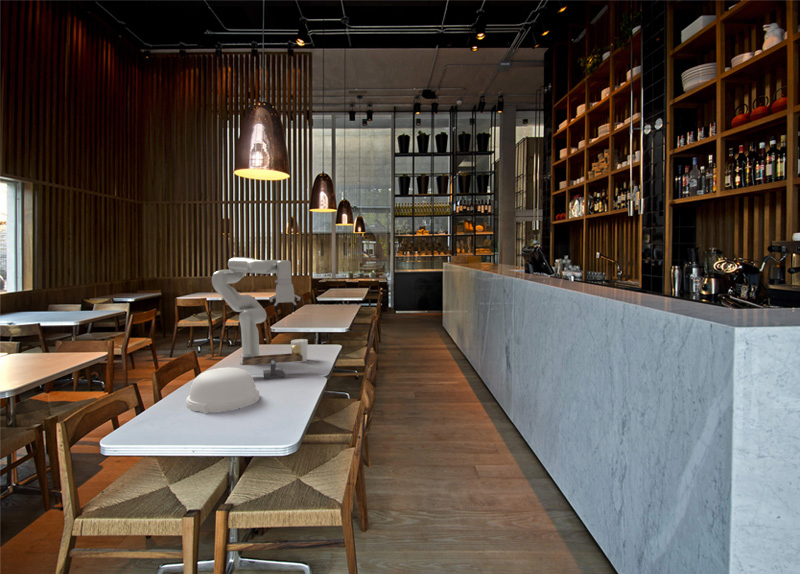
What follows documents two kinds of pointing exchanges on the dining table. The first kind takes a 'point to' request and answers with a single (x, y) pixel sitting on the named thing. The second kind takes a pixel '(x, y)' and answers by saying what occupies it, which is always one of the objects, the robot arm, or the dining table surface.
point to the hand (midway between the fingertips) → (285, 312)
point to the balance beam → (269, 359)
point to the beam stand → (273, 372)
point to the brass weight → (296, 350)
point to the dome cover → (222, 390)
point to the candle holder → (303, 347)
